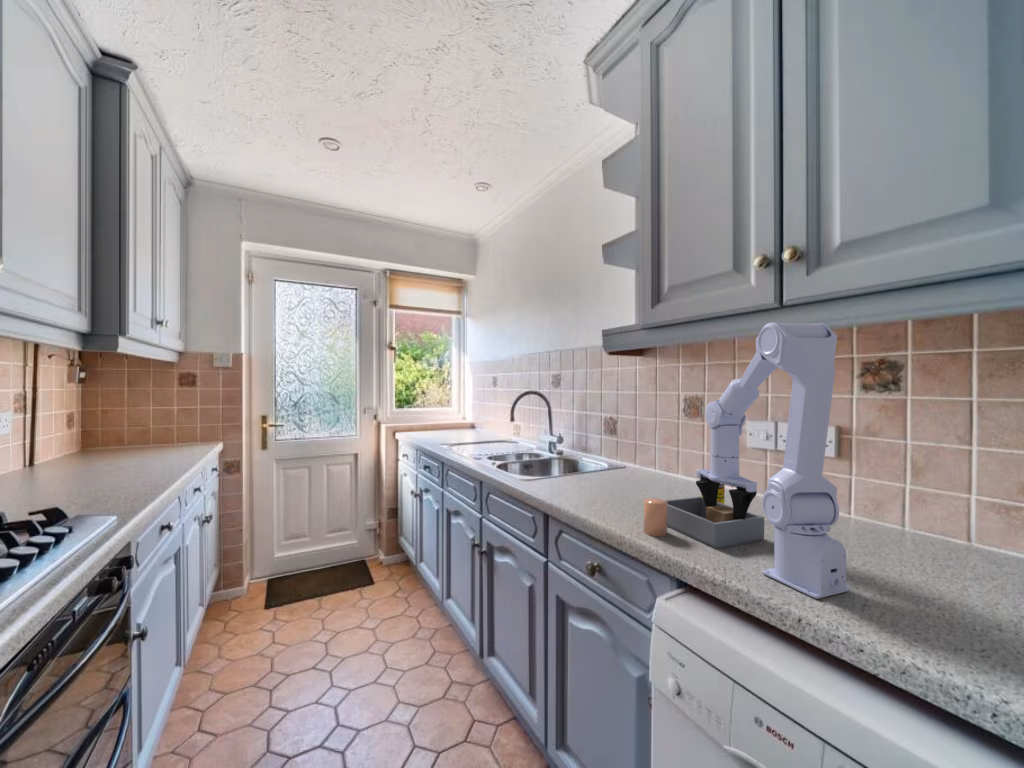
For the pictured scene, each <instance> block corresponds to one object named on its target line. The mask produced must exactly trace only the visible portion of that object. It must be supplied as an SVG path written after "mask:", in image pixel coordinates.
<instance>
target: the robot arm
mask: <svg viewBox="0 0 1024 768" xmlns="http://www.w3.org/2000/svg"><path fill="white" fill-rule="evenodd" d="M837 341H838V335H837V334H836V333H835V332H834V330H832V329H831V328H830V326H828V325H827V324H826V323H822V322H817V323H816V322H815V323H793V322H791V323H785V322H784V323H782V322H780V323H779V322H775V321H774V322H773V321H772V322H769V323H766V324H765V325H764V326H763V327H762V328H761V330H760V331H759V333H758V335H757V337H756V338H755V350H756V351H755V354H754V356H753V357H752V359H751V361H750V362H749V364H748V366H747V367H746V369H745V371H744V373H743V375H742V376H741V378H735V379H732V380H731V381H730V383H729V385H728V386H727V388H726V389H725V391H724V392H723V393H722V395H721V396H720V397H719V399H715V400H714V401H709V402H708V403H707V405H706V408H705V409H704V410H705V412H704V414H705V415H704V417H705V422H706V424H707V426H708V427H709V428H710V469H704V468H702V469H701V468H699V469H697V468H696V478H698V479H699V480H696V481H695V485H696V486H697V488H698V489H699V492H700V493H701V497H702V496H703V499H704V503H705V506H706V507H712V506H717V494H718V489H719V486H720V483H722V484H725V485H726V486H728V487H729V486H730V487H732V488H733V489H732V488H731V489H729V490H728V492H729V495H730V498H731V502H732V507H733V515H734V520H738V519H745V517H746V513H747V512H748V510H749V508H750V505H751V503H752V501H753V500H754V499H755V497H756V496H757V493H758V482H757V481H753V480H751V479H748V478H746V477H743V476H740V437H741V436H742V434H743V427H744V425H745V423H746V420H747V418H746V417H747V416H746V415H745V414H746V412H747V411H748V410H749V409H750V407H751V406H752V405H753V404H754V402H755V401H757V400H758V397H760V390H759V387H760V386H761V385H762V384H763V383H764V382H765V381H766V380H767V378H769V377H770V376H771V375H772V374H773V372H774V371H776V369H778V368H779V369H780V370H781V371H784V372H786V373H787V374H788V376H790V377H791V379H792V384H791V394H790V402H789V409H788V410H789V411H788V412H789V413H788V421H787V428H786V429H787V430H786V439H785V446H784V458H783V465H782V468H781V469H780V470H779V471H778V472H776V473H775V474H774V475H772V476H771V477H770V478H769V479H768V483H767V488H766V490H765V492H764V494H763V495H762V500H761V506H762V511H763V514H764V516H765V517H766V519H767V520H768V522H769V524H770V525H772V526H773V527H774V529H773V530H774V531H773V532H774V534H773V535H774V540H773V541H774V546H773V547H774V548H773V549H774V550H773V551H774V553H773V555H774V558H773V561H774V565H773V566H774V567H772V568H771V567H770V568H767V569H763V570H761V573H762V574H763V575H765V576H767V577H769V578H771V579H774V580H775V581H778V582H780V583H782V584H784V585H786V586H788V587H790V588H792V589H795V590H796V591H799V592H801V593H803V594H806V595H807V596H810V597H811V598H813V599H823V598H826V597H829V596H830V597H831V596H834V595H837V594H842V593H846V592H850V587H849V586H847V552H846V547H845V546H844V544H843V543H842V542H841V541H839V540H838V539H835V538H833V537H831V536H830V535H829V534H828V533H830V532H831V526H834V525H835V524H836V523H837V521H838V520H839V517H840V507H839V504H838V499H837V493H838V488H837V487H836V486H835V485H834V483H832V482H831V481H830V480H828V479H827V478H826V477H825V476H824V475H823V471H824V464H825V463H824V462H825V458H826V457H825V456H826V447H827V439H828V433H829V423H830V416H831V415H830V414H831V409H832V399H833V391H834V385H835V384H834V382H835V375H836V368H835V367H836V366H835V359H836V352H837V351H836V350H837ZM710 470H711V471H710ZM734 488H735V489H734Z"/></svg>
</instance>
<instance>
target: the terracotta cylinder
mask: <svg viewBox="0 0 1024 768" xmlns="http://www.w3.org/2000/svg"><path fill="white" fill-rule="evenodd" d="M643 533H645V535H648V536H651V537H657V536H662V537H665V535H666V536H668V527H667V501H665V499H661V498H655V497H653V498H645V499H643Z"/></svg>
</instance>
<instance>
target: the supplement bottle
mask: <svg viewBox="0 0 1024 768" xmlns="http://www.w3.org/2000/svg"><path fill="white" fill-rule="evenodd" d="M709 470H710V471H711V469H709ZM725 489H726V487H725V484H722V483H720V486H719V489H718V494H717V502H719V503H722V504H725V492H726V491H725ZM701 497H703V496H702V495H701Z"/></svg>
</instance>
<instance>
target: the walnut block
mask: <svg viewBox="0 0 1024 768" xmlns="http://www.w3.org/2000/svg"><path fill="white" fill-rule="evenodd" d="M706 519H707V520H709V521H712V522H714V523H716V522H723V521H731V520H734V515H733V508H730V507H727V506H724V505H720V506H712V507H706Z"/></svg>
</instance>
